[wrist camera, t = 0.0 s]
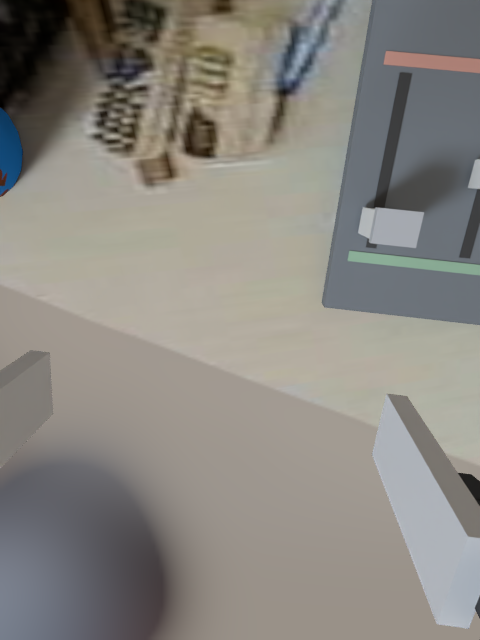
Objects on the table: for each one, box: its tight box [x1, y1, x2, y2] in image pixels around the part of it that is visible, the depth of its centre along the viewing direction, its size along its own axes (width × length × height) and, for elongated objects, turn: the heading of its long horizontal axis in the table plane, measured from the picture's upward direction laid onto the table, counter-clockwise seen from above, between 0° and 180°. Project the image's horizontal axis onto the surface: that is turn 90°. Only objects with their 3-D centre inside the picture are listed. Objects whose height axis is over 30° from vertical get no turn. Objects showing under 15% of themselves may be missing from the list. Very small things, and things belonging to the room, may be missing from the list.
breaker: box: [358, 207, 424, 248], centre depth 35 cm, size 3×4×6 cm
